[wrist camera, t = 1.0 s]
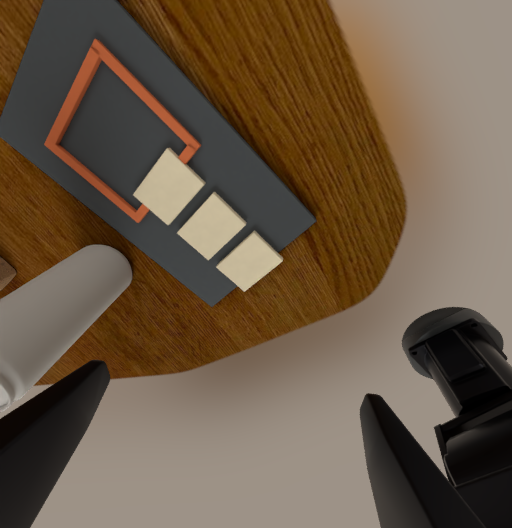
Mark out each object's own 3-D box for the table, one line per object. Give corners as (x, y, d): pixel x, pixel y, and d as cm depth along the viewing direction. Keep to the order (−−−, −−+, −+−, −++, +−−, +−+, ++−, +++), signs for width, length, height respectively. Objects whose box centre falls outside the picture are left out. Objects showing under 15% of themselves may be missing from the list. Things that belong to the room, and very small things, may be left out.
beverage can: (131, 295, 24) (15, 425, 14) (80, 275, 24) (-79, 395, 13) (140, 254, 22) (9, 373, 12) (84, 232, 22) (-105, 335, 11)
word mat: (321, 224, 19) (323, 229, 18) (218, 307, 24) (215, 315, 23) (72, -49, 13) (55, -63, 13) (2, 132, 18) (-14, 132, 17)
